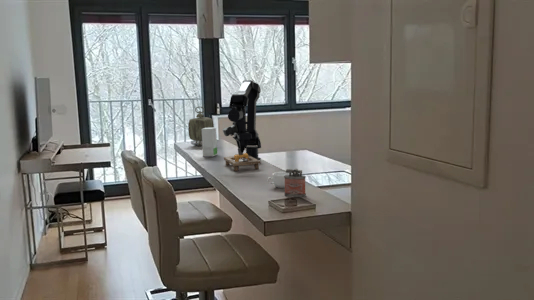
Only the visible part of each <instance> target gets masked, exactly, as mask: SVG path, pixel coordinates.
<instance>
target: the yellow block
mask: <svg viewBox="0 0 534 300" xmlns="http://www.w3.org/2000/svg"><path fill="white" fill-rule="evenodd" d="M237 154H238V155H233V156H234V158H235V160H234V161H235V162H238V161H240V159H239V158H241V157H244V158H248V154H247V153H246V152H241V150H240V148H239V149H238V148H237ZM248 161H250V160H249V159H248Z"/></svg>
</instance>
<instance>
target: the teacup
mask: <svg viewBox="0 0 534 300" xmlns="http://www.w3.org/2000/svg"><path fill="white" fill-rule="evenodd" d="M271 174H272V175H271V176H268V177H267V182H268V184H270V185H274V186H275V187H276V188H278V189H285V178H284V175H289V173H286V171H275V172H273V173H271ZM292 174H293V173H291V175H292ZM269 179H271V180H272V181H271V182H270V181H269Z"/></svg>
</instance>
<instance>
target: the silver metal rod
mask: <svg viewBox="0 0 534 300" xmlns="http://www.w3.org/2000/svg"><path fill="white" fill-rule="evenodd" d="M235 155H238V153H235ZM239 160H241V161H243V162H247V161H248V158H243V157H241V158H240V159H239Z"/></svg>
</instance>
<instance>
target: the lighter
mask: <svg viewBox="0 0 534 300" xmlns="http://www.w3.org/2000/svg"><path fill="white" fill-rule="evenodd" d="M285 172H286V173H289V175H284V178H285V188H284V197H291V198H305V197H306V196H307V193H306V178H307V177H306V175H303V170H302V169H298V168H294V169H291V168H286V169H285ZM291 173H292V175H291Z"/></svg>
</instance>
